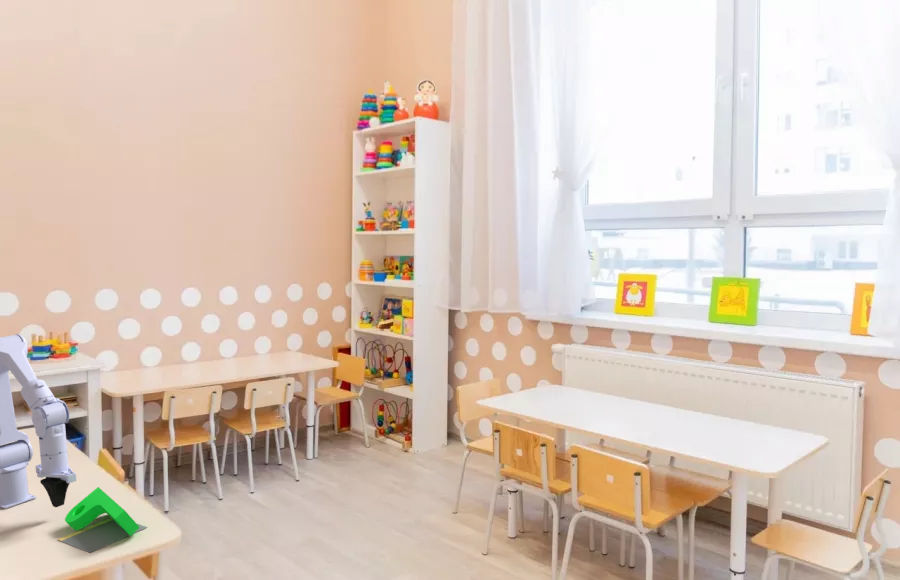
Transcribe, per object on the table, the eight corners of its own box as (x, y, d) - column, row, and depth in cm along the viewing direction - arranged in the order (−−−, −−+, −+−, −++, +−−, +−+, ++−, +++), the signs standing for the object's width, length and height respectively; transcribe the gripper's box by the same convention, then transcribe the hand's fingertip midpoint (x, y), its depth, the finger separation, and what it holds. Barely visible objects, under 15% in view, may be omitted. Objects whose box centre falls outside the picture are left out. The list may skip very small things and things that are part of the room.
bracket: (81, 537, 167) (61, 517, 164) (116, 506, 172) (98, 486, 169) (105, 565, 152) (84, 543, 149) (143, 531, 158) (124, 509, 154)
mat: (57, 539, 158) (57, 539, 158) (114, 516, 170) (114, 516, 170) (89, 552, 151) (89, 552, 151) (147, 527, 163) (147, 527, 163)
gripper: (21, 452, 169) (26, 505, 170) (53, 461, 161) (58, 517, 162) (50, 443, 175) (54, 495, 176) (82, 452, 167) (87, 506, 168)
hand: (58, 505), depth 170 cm, fingers closed
